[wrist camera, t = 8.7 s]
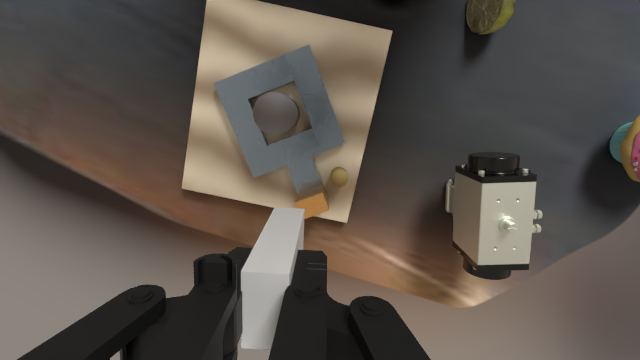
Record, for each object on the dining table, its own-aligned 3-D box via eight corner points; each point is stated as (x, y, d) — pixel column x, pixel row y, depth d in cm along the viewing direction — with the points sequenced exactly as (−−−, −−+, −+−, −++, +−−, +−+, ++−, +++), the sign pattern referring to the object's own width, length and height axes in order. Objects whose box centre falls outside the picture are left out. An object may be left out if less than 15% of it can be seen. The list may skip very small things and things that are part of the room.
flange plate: (216, 84, 37) (200, 79, 32) (309, 46, 36) (307, 35, 31) (273, 218, 40) (266, 232, 35) (360, 186, 39) (366, 196, 34)
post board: (212, -7, 36) (184, -36, 29) (390, 33, 37) (405, 14, 30) (185, 186, 41) (156, 201, 34) (346, 219, 41) (350, 241, 34)
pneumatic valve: (437, 241, 42) (482, 292, 30) (440, 147, 39) (489, 162, 28) (482, 240, 42) (545, 290, 30) (488, 145, 39) (557, 159, 27)
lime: (473, 45, 37) (495, 34, 32) (450, 6, 36) (470, -10, 32) (508, 20, 37) (537, 5, 32) (486, -20, 36) (512, -41, 31)
